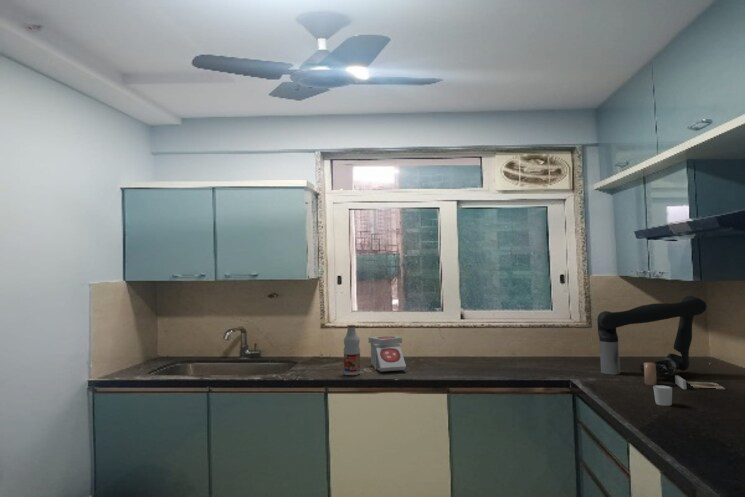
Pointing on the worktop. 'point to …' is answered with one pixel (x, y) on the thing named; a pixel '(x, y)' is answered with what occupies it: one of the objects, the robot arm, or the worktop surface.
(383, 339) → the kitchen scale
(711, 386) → the pad
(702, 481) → the worktop surface
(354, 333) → the fruit juice
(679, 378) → the wall
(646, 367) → the cylinder
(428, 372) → the worktop surface
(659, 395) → the shot glass
